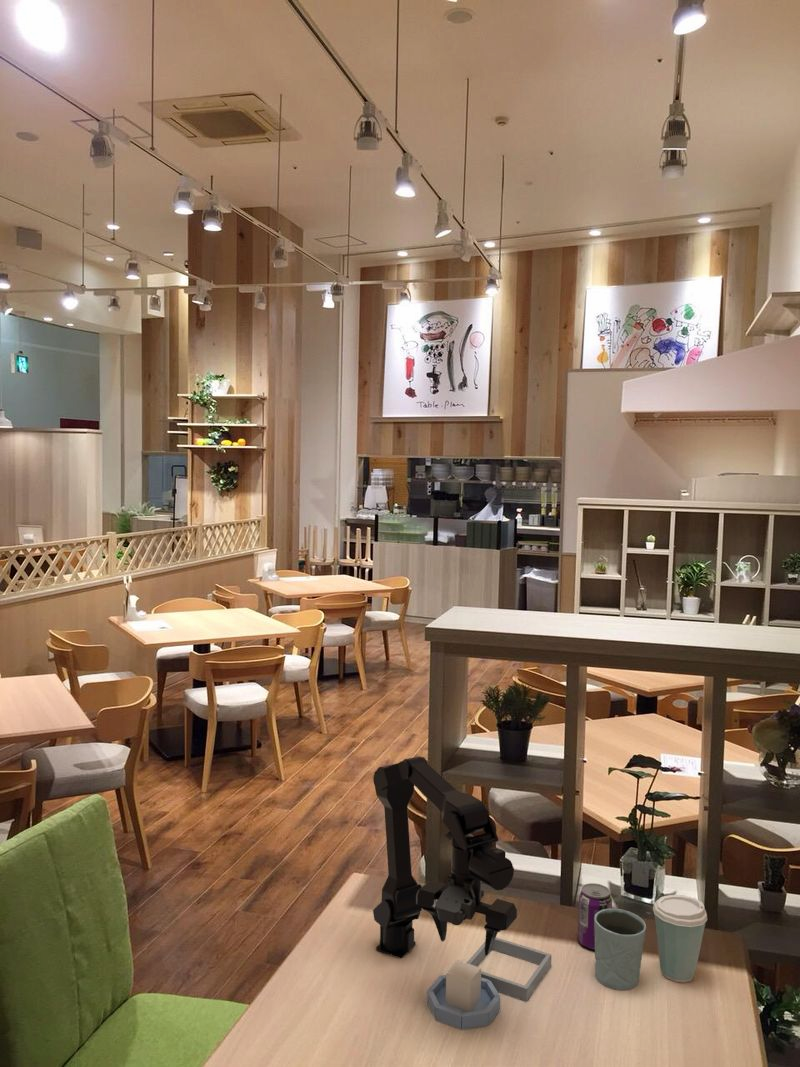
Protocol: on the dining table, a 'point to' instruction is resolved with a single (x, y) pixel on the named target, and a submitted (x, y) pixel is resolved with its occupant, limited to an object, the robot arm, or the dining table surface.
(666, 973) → the disposable coffee cup
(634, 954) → the embossed ceramic cup
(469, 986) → the stone block
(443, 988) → the ceramic bowl
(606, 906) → the beverage can
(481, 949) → the open square frame
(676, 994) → the dining table surface
